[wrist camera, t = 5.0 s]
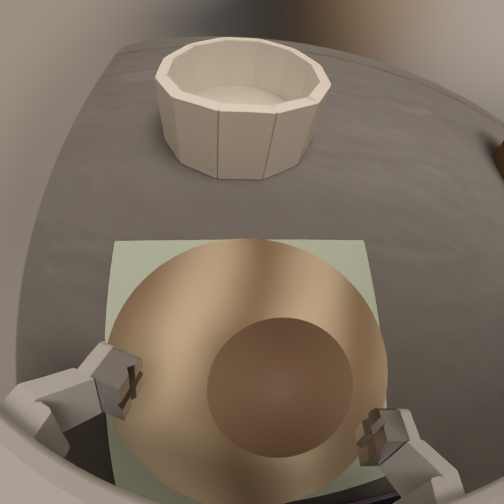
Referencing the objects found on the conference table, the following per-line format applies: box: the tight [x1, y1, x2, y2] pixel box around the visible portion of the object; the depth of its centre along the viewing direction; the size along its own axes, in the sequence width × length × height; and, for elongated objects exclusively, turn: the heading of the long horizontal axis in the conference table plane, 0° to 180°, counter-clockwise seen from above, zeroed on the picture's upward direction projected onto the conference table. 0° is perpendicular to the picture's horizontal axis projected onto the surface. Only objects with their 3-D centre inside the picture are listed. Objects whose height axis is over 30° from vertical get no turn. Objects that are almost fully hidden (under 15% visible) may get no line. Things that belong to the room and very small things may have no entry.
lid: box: [108, 238, 388, 504], centre depth 10 cm, size 15×15×8 cm
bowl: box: [155, 37, 331, 180], centre depth 19 cm, size 12×12×6 cm
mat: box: [105, 240, 387, 504], centre depth 14 cm, size 16×16×1 cm
